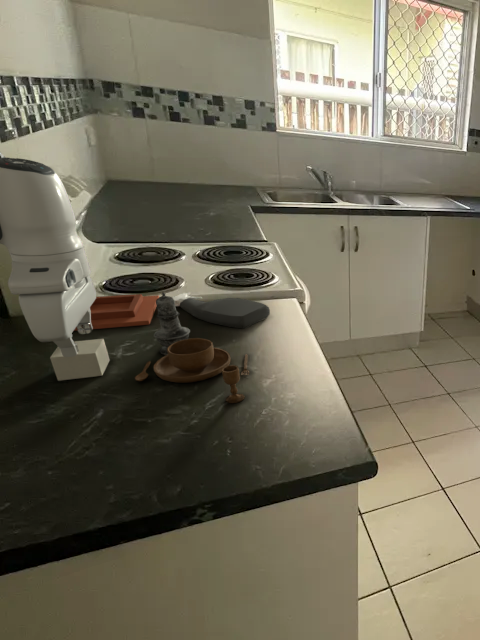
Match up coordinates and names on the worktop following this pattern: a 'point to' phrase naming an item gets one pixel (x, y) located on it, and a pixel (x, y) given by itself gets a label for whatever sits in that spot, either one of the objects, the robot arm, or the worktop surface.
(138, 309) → the base pad
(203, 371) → the place setting
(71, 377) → the beige block
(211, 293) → the worktop surface
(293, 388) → the worktop surface
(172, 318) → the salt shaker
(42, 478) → the worktop surface
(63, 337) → the robot arm
